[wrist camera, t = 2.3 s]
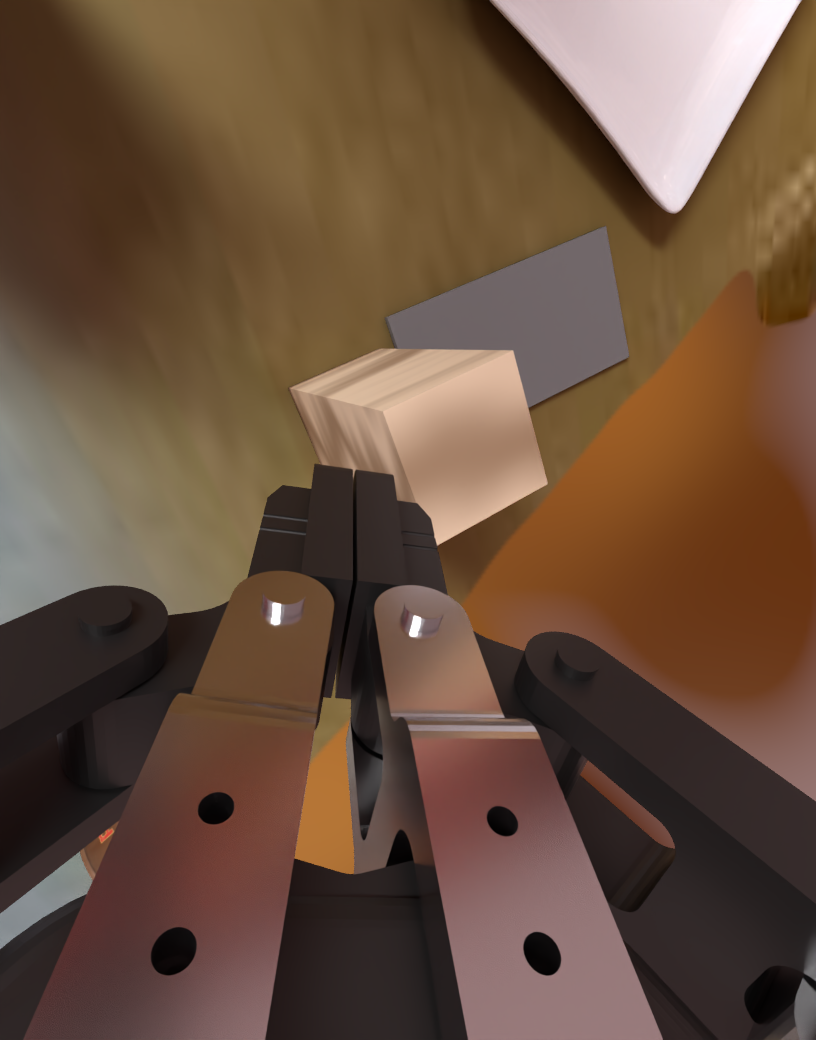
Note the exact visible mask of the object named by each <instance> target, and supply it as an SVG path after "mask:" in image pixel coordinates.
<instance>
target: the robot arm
mask: <svg viewBox="0 0 816 1040" xmlns="http://www.w3.org/2000/svg"><path fill="white" fill-rule="evenodd" d="M434 535H435V534H434V530H433V525H432V521H431V518H430V517H429V516H428V515H427V513H426V512H425V511H424V510H423V509H422V508H421V507H420V506H419V504H418V503H412V502H405V501H398V500H397V496H396V488H395V480H394V475H392V474H385V473H378V472H371V471H364V470H357V469H356V470H355V473H354V478H353V469H349V468H342V467H335V466H328V465H321V464H315V465H314V473H313V480H312V488H311V489H307V488H300V487H293V486H285V485H282V486H281V487H280V488H279V489H278V490H276V491H275V492H274V493H273V494H271V495H270V496H269V497H268V498H267V502H266V506H265V510H264V515H263V518H262V522H261V526H260V530H259V534H258V538H257V542H256V546H255V550H254V554H253V558H252V562H251V566H250V570H249V574H248V578H247V579H245V580H243V581H242V582H241V583H239V585H238V586H237V587H236V588H235V589H234V591H233V593H232V595H231V598H230V600H229V601H228V602H226V603H224V604H222V605H220V606H217V607H215V608H212V609H208V610H204V611H198V612H192V613H183V614H175V615H168V612H167V610H166V607H165V605H164V604H163V603H162V601H161V600H159V599H158V598H157V597H156V596H154V595H153V594H151V593H149V592H147V591H144V590H142V589H138V588H134V587H128V586H101V587H95V588H90V589H86V590H82V591H79V592H77V593H74V594H71V595H69V596H67V597H65V598H62V599H60V600H58V601H55V602H53V603H51V604H48V605H46V606H44V607H41V608H39V609H37V610H35V611H32V612H30V613H28V614H25V615H23V616H21V617H18V618H16V619H14V620H11V621H9V622H7V623H5V624H2V625H0V913H1V912H3V911H4V910H5V909H7V908H8V907H9V906H10V905H12V904H13V903H14V902H15V901H17V900H18V899H19V898H21V897H22V896H23V895H24V894H26V893H27V892H28V891H30V890H31V889H32V888H33V887H35V886H36V885H37V884H39V883H40V882H41V881H42V880H44V879H45V878H46V877H47V876H49V875H50V874H51V873H53V872H54V871H55V870H56V869H58V868H59V867H60V866H62V865H63V864H64V863H65V862H67V861H68V860H69V859H70V858H72V857H73V856H74V855H76V854H77V853H78V852H79V851H81V850H82V849H83V848H85V847H86V846H87V845H88V844H90V843H91V842H92V841H93V840H95V839H96V838H97V837H99V836H100V835H101V834H102V833H104V832H105V831H106V830H108V829H109V828H110V827H111V826H113V825H114V824H115V823H117V822H118V821H119V823H118V825H117V827H116V829H115V832H114V834H113V836H112V838H111V841H110V843H109V845H108V848H107V850H106V852H105V854H104V857H103V859H102V861H101V864H100V866H99V868H98V870H97V873H96V875H95V877H94V879H93V882H92V884H91V886H90V889H89V891H88V893H87V894H86V895H84V896H82V897H80V898H77V899H75V900H73V901H71V902H69V903H67V904H66V905H64V906H62V907H61V908H59V909H57V910H55V911H54V912H52V913H50V914H49V915H47V916H45V917H43V918H42V919H40V920H39V921H38V922H36V923H35V924H33V925H32V926H30V927H29V928H28V929H26V930H25V931H23V932H22V933H21V934H19V935H18V936H16V937H15V938H14V939H12V940H11V941H10V942H9V943H7V944H6V945H5V946H4V947H3V948H1V949H0V1040H816V801H814V800H813V799H812V798H810V797H809V796H807V795H806V794H804V793H803V792H802V791H800V790H799V789H797V788H796V787H795V786H793V785H792V784H791V783H789V782H788V781H786V780H785V779H784V778H782V777H781V776H779V775H778V774H776V773H775V772H774V771H772V770H771V769H769V768H768V767H767V766H765V765H764V764H762V763H761V762H760V761H758V760H757V759H755V758H754V757H753V756H751V755H750V754H748V753H747V752H746V751H744V750H743V749H741V748H740V747H739V746H737V745H736V744H734V743H733V742H732V741H730V740H729V739H727V738H726V737H725V736H723V735H722V734H720V733H719V732H717V731H716V730H715V729H713V728H712V727H710V726H709V725H708V724H706V723H705V722H703V721H702V720H701V719H699V718H698V717H696V716H695V715H694V714H692V713H691V712H689V711H688V710H687V709H685V708H684V707H682V706H681V705H680V704H678V703H677V702H676V701H674V700H673V699H671V698H670V697H669V696H667V695H666V694H664V693H663V692H661V691H660V690H659V689H657V688H656V687H654V686H653V685H652V684H650V683H649V682H647V681H646V680H645V679H643V678H642V677H640V676H639V675H638V674H636V673H635V672H633V671H632V670H631V669H629V668H628V667H626V666H625V665H624V664H622V663H621V662H619V661H618V660H616V659H615V658H614V657H612V656H611V655H610V654H608V653H607V652H605V651H604V650H603V649H601V648H600V647H598V646H597V645H595V644H593V643H592V642H590V641H588V640H586V639H584V638H581V637H579V636H576V635H572V634H569V633H563V632H545V633H541V634H538V635H536V636H534V637H533V638H532V639H530V641H529V642H528V644H527V646H526V649H525V651H522V650H519V649H516V648H513V647H510V646H507V645H504V644H501V643H498V642H495V641H493V640H490V639H487V638H485V637H483V636H481V635H479V634H477V633H476V632H474V631H473V629H472V626H471V624H470V621H469V618H468V616H467V614H466V612H465V611H464V609H463V608H462V607H461V606H460V605H459V604H458V603H457V602H456V601H455V600H454V599H452V598H451V597H449V596H448V594H447V589H446V585H445V580H444V576H443V571H442V566H441V562H440V557H439V553H438V552H437V543H436V539H435V538H434ZM335 674H336V693H335V698H343V699H351V718H350V723H349V727H348V732H347V737H346V751H347V762H348V763H347V764H348V777H349V790H350V803H351V816H352V829H353V842H354V861H355V862H354V865H355V866H354V874H345V873H341V872H337V871H334V870H331V869H327V868H324V867H321V866H317V865H314V864H311V863H308V862H304V861H301V860H298V859H295V858H294V857H295V850H296V844H297V838H298V832H299V825H300V819H301V813H302V806H303V801H304V794H305V788H306V781H307V776H308V770H309V763H310V757H311V751H312V745H313V738H314V732H315V729H316V728H317V726H318V723H319V719H320V713H321V708H322V702H323V697H327V698H331V696H332V690H333V685H334V679H335ZM588 760H589V761H590V762H591V763H592V764H594V765H595V766H596V767H597V768H598V769H599V770H600V771H602V772H603V773H604V774H605V775H606V776H607V777H609V778H610V779H611V780H612V781H614V783H616V784H617V785H618V786H619V787H621V788H622V789H623V790H624V791H625V792H626V793H627V794H629V795H630V796H631V797H632V798H633V799H635V800H636V801H637V802H638V803H639V804H640V805H642V806H643V807H644V808H645V809H646V810H647V811H649V812H650V813H651V814H652V815H653V816H654V817H656V818H657V819H658V820H659V821H660V822H661V823H662V824H663V825H664V826H665V827H666V829H667V830H668V832H669V833H670V835H671V837H672V839H673V842H674V844H675V849H673V848H668V847H665V846H663V845H661V844H659V843H658V842H656V841H655V840H654V839H652V838H651V837H650V836H649V835H648V834H647V833H645V832H644V831H643V830H642V829H641V828H640V827H639V826H637V825H636V824H635V823H634V822H633V821H632V820H631V819H629V818H628V817H627V816H626V815H625V814H624V813H623V812H621V811H620V810H619V809H618V808H617V807H616V806H615V805H613V804H612V803H611V802H610V801H609V800H608V799H607V798H605V797H604V796H603V795H602V794H601V793H599V791H598V790H596V789H595V788H594V787H593V786H592V785H591V784H589V783H588V782H587V781H586V780H585V779H584V778H583V777H581V776H580V774H581V772H582V770H583V768H584V766H585V765H586V763H587V761H588Z"/></svg>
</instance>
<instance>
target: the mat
mask: <svg viewBox="0 0 816 1040" xmlns="http://www.w3.org/2000/svg"><path fill="white" fill-rule="evenodd" d="M385 320H386V323H387V326H388V329H389V332H390V335H391V338H392V341H393V344H394V347H395V349H444V350H513V352H514V355H515V359H516V363H517V367H518V371H519V375H520V379H521V382H522V386H523V390H524V394H525V398H526V402H527V406H528V408H529V407H531V406H533V405H535V404H537V403H539V402H541V401H543V400H545V399H547V398H549V397H551V396H553V395H555V394H557V393H559V392H561V391H563V390H565V389H567V388H569V387H570V386H572V385H574V384H576V383H578V382H580V381H582V380H584V379H586V378H588V377H590V376H592V375H594V374H596V373H598V372H600V371H602V370H604V369H606V368H608V367H610V366H612V365H614V364H616V363H618V362H620V361H622V360H624V359H626V358H628V357H629V352H628V347H627V341H626V335H625V330H624V324H623V319H622V313H621V307H620V302H619V296H618V291H617V285H616V280H615V274H614V268H613V263H612V257H611V252H610V246H609V241H608V235H607V229H606V226H605V227H601V228H599V229H596V230H594V231H592V232H589V233H587V234H584V235H582V236H580V237H577V238H575V239H572V240H570V241H568V242H565V243H563V244H560V245H558V246H556V247H553V248H551V249H548V250H546V251H544V252H541V253H539V254H536V255H534V256H532V257H529V258H527V259H524V260H522V261H520V262H517V263H515V264H512V265H510V266H508V267H505V268H503V269H500V270H498V271H496V272H493V273H491V274H489V275H486V276H484V277H481V278H479V279H477V280H474V281H472V282H469V283H467V284H465V285H462V286H460V287H457V288H455V289H453V290H450V291H448V292H445V293H443V294H441V295H438V296H436V297H433V298H431V299H429V300H426V301H424V302H421V303H419V304H417V305H414V306H412V307H409V308H407V309H405V310H402V311H400V312H397V313H395V314H393V315H390V316H388V317H385Z"/></svg>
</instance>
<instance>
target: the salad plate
mask: <svg viewBox="0 0 816 1040" xmlns="http://www.w3.org/2000/svg"><path fill="white" fill-rule="evenodd" d="M489 1H490V2H491V3H492V4H493V5H494V6H495V7H496V8H497V9H498V10H499V11H500V13H501V14H502V15H503V16H504V17H505V18H506V19H507V20H508V21H509V22H510V23H511V24H512V25H513V27H514V28H515V29H516V30H517V31H518V32H519V33H520V34H521V35H522V36H523V37H524V38H525V40H526V41H527V42H528V43H529V44H530V45H531V46H532V48H533V49H534V50H535V51H536V52H537V53H538V54H539V56H540V57H541V58H542V59H543V60H544V61H545V62H546V64H547V65H548V66H549V67H550V68H551V69H552V71H553V72H554V73H555V74H556V75H557V76H558V78H559V79H560V80H561V81H562V82H563V84H564V85H565V86H566V87H567V88H568V90H569V91H570V92H571V93H572V95H573V96H574V97H575V98H576V100H577V101H578V102H579V103H580V105H581V106H582V107H583V108H584V110H585V111H586V112H587V113H588V114H589V116H590V117H591V118H592V119H593V121H594V122H595V123H596V125H597V126H598V127H599V129H600V130H601V131H602V133H603V134H604V135H605V137H606V138H607V139H608V140H609V142H610V143H611V144H612V146H613V147H614V148H615V150H616V151H617V152H618V154H619V155H620V157H621V158H622V159H623V161H624V162H625V163H626V165H627V166H628V168H629V169H630V170H631V172H632V173H633V175H634V176H635V177H636V179H637V180H638V182H639V183H640V184H641V186H642V187H643V188H644V190H645V191H646V192H647V194H648V195H649V196H650V197H651V198H652V199H653V200H654V202H655V203H656V204H657V205H659V206H660V207H661V208H662V209H664V210H665V211H666V212H669V213H677V212H679V211H680V210H681V209H682V208H683V207H684V206H685V204H686V202H687V201H688V199H689V198H690V196H691V194H692V193H693V191H694V189H695V187H696V186H697V184H698V182H699V180H700V179H701V177H702V175H703V173H704V172H705V170H706V168H707V166H708V164H709V162H710V161H711V159H712V157H713V155H714V154H715V152H716V150H717V148H718V146H719V145H720V143H721V141H722V139H723V137H724V136H725V134H726V132H727V130H728V128H729V127H730V125H731V123H732V121H733V119H734V118H735V116H736V114H737V112H738V111H739V109H740V107H741V105H742V103H743V102H744V100H745V98H746V96H747V94H748V92H749V91H750V89H751V87H752V85H753V83H754V82H755V80H756V78H757V76H758V75H759V73H760V71H761V69H762V68H763V66H764V64H765V62H766V60H767V59H768V57H769V55H770V53H771V52H772V50H773V48H774V47H775V45H776V43H777V41H778V40H779V38H780V36H781V34H782V33H783V31H784V29H785V27H786V26H787V24H788V22H789V20H790V19H791V17H792V15H793V14H794V12H795V10H796V9H797V7H798V5H799V4H800V2H801V0H489Z"/></svg>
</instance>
